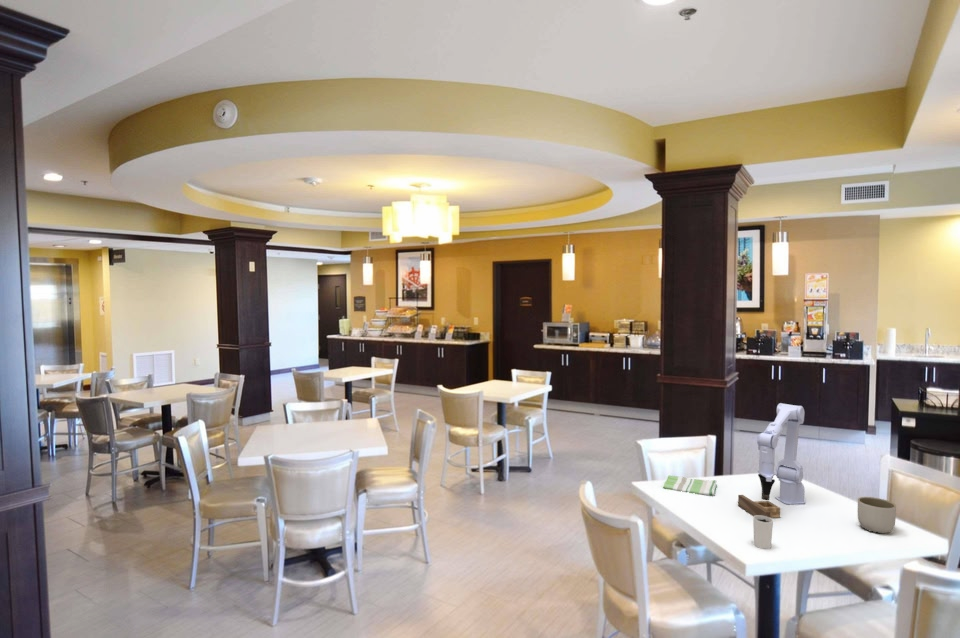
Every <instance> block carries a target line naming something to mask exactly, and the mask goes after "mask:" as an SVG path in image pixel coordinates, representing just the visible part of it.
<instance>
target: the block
mask: <svg viewBox="0 0 960 638" xmlns="http://www.w3.org/2000/svg"><path fill="white" fill-rule="evenodd" d="M752 501H753V502H755V503H757V504H758V505H760V506H761V507H763V508H765V509H766V510H768V511H769V512H770V518H772V519H774V518H776V519H778V518H781V507H780V506H778V505H776V504H774V503H773V502H771V501H770V500H761V501H759V500H756V501H754V500H752Z"/></svg>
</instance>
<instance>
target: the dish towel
mask: <svg viewBox="0 0 960 638" xmlns="http://www.w3.org/2000/svg"><path fill="white" fill-rule="evenodd" d="M716 488H717V489H718V484H717V480H714V479H713V480H710V479H709V480H705V479H699V478H698V479H697V478H688V477H685V476H684V477H683V476H677V475H671V474H670V475H668V476H667V478H666V481H665V482H664V484H663V486H662V489H664V490H671V491H677V492H681V491H682V492H681V493H687V492H689V494H693V493H695V494H694V495H701V496H709V497H715V496H716V492H717V489H716Z"/></svg>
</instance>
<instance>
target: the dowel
mask: <svg viewBox="0 0 960 638" xmlns="http://www.w3.org/2000/svg"><path fill="white" fill-rule="evenodd" d="M770 495H771V494H770ZM770 495H764V493H763V487H761V500H762V501H770V500H771V499H770V497H771V496H770Z"/></svg>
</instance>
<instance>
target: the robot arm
mask: <svg viewBox="0 0 960 638" xmlns="http://www.w3.org/2000/svg"><path fill="white" fill-rule="evenodd" d="M804 422H805V409H804V407H803V406H802V405H795V404H794V405H793V404H787V403H782V402H780V403H778V404H777V406H776V417H775V419H774V421H771V422H769V424H768V425H767V426H766V429H765V430H763V432H761V433H758V435H757V439H756V443H757V446H758V447H757V449H758V451H759V453H758V455H759V457H758V458H759V459H758V473H757V476H758V478H759V481H760V486H761V488H762V487H763V493H764V495H771V490H772V487H773V486H774V484H775V482H776V480H775V479H774V476H775V477H776V478H777V479H778V481H779V496H774V498H775V499H776V500H778V501H780V502H781V503H783V504H785V505H797V504H798V505H800V504H801V505H802V504H806V502H805V491H806V490H805V486H804V484H803V483H802V481H803V479H804V470H803V469H804V468H803V465H802V464H801V463H799V461H797V454H798V445H799V444H798V443H799V432H800V426H801V425H803V424H804ZM784 425H786V430H785V432H786V434H785V441H784V443H785V444H784V453H783V459H781V460H780V461H777V466H776V468H775V449H776V447H777V446H778V442H779V441H780V440H779V438H780V436H781V434H782V433H783V430H784Z"/></svg>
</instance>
